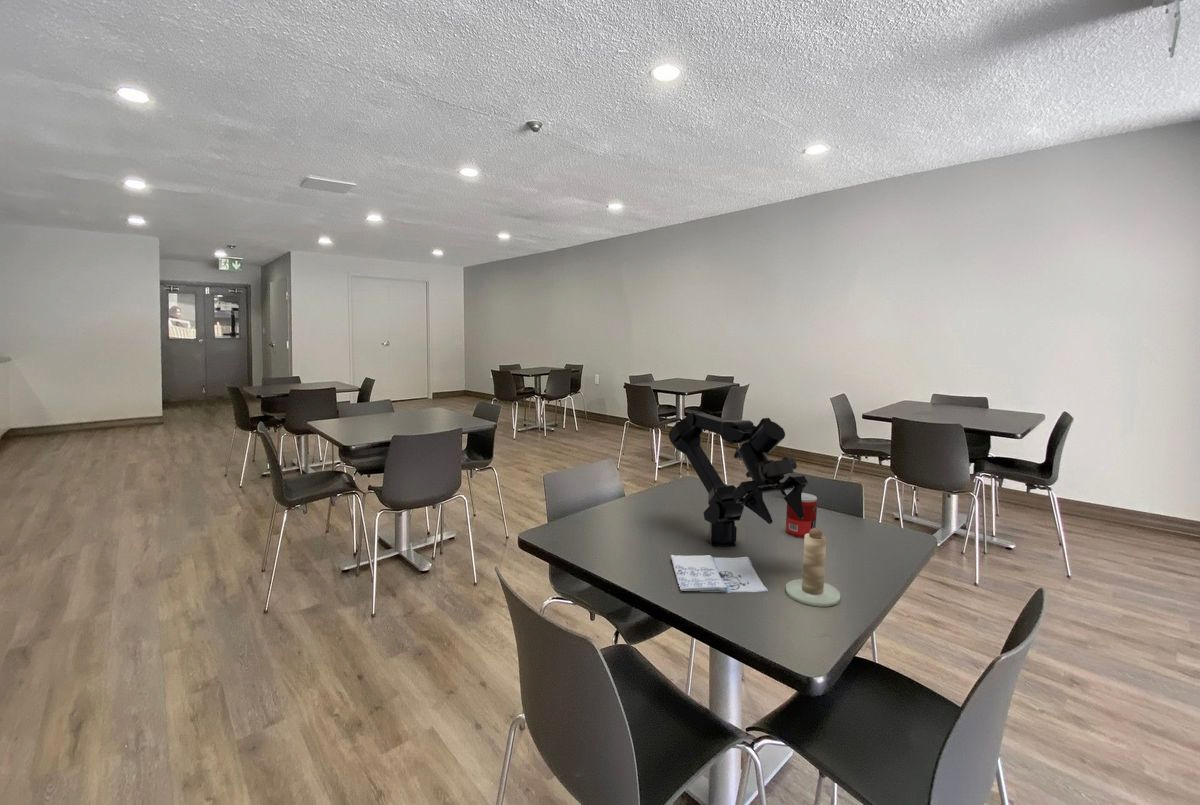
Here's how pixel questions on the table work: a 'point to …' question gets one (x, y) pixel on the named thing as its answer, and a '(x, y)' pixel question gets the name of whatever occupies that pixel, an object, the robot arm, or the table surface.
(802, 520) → the canned food
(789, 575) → the table surface
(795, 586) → the disc
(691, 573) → the open notebook
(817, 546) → the pepper mill
